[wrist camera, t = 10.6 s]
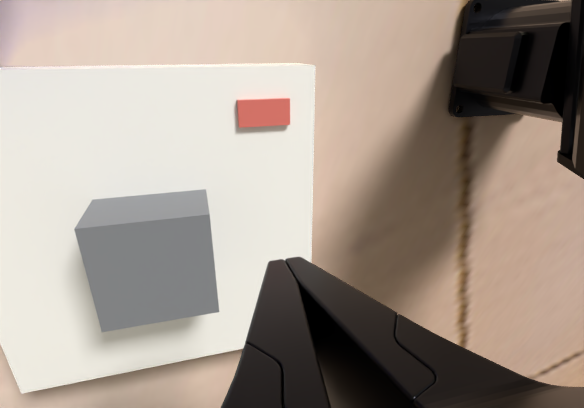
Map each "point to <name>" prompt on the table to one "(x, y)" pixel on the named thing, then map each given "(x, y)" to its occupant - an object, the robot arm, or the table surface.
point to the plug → (149, 258)
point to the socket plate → (142, 181)
